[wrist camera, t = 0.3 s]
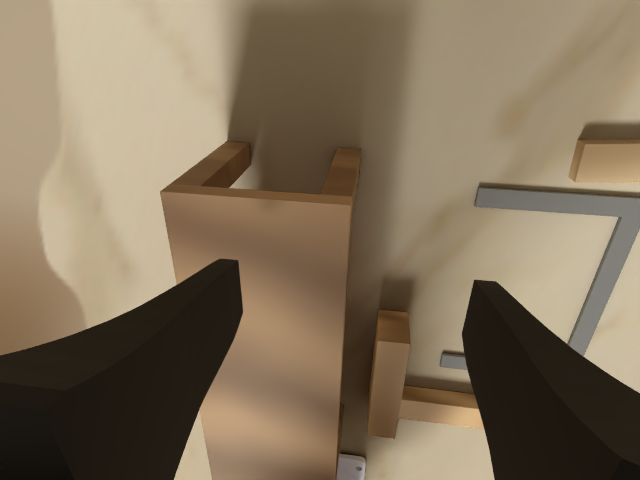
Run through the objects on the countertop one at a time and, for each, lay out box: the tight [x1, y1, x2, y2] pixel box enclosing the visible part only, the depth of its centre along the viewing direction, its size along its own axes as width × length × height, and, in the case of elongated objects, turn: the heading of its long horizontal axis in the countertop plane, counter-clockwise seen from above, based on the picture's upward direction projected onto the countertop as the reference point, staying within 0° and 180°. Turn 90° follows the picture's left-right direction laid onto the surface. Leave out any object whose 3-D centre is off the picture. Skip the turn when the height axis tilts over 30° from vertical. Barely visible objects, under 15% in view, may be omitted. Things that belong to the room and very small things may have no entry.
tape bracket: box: [440, 187, 640, 370], centre depth 23 cm, size 12×8×1 cm, turn 179°
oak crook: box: [367, 310, 484, 439], centre depth 23 cm, size 20×9×6 cm, turn 89°
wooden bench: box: [160, 141, 361, 480], centre depth 22 cm, size 20×7×7 cm, turn 179°
